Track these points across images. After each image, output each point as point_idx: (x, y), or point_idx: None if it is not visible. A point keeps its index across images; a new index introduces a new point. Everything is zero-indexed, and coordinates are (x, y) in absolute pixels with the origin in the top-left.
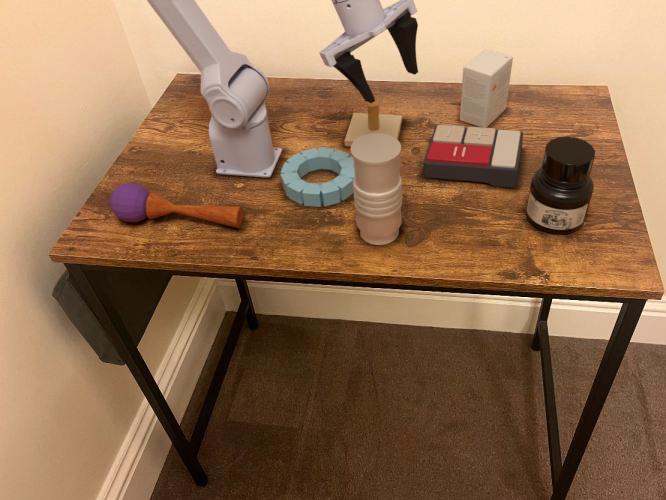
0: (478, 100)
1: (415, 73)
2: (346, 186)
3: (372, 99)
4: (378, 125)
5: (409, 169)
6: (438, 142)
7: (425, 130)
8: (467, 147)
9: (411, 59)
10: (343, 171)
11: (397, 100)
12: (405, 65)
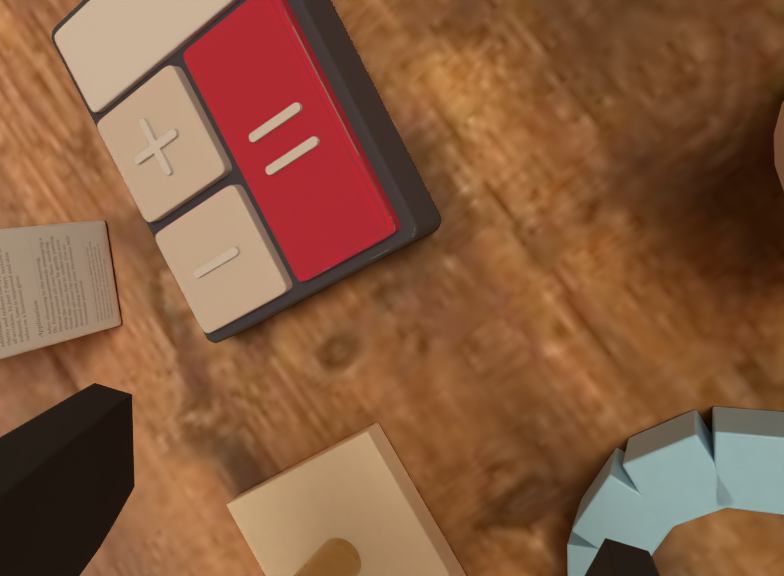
0: (22, 271)
1: (118, 393)
2: (774, 433)
3: (633, 566)
4: (329, 546)
5: (438, 304)
6: (281, 266)
7: (229, 392)
8: (242, 133)
9: (8, 486)
10: (692, 504)
11: (169, 569)
12: (93, 537)
